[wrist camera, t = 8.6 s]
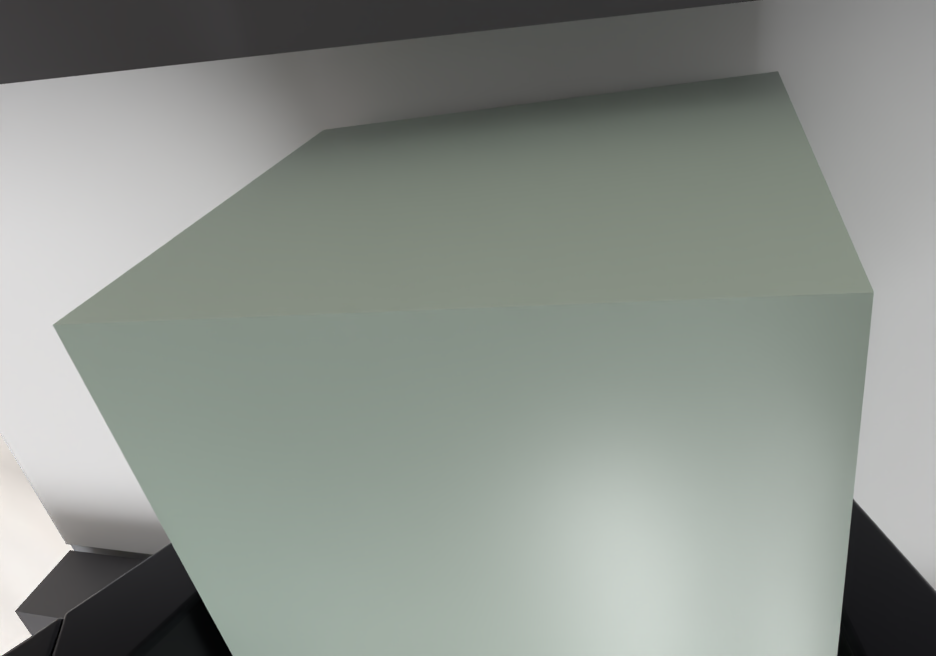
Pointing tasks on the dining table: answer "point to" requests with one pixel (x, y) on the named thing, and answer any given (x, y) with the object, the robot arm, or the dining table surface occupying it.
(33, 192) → the rail board
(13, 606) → the dining table surface
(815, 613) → the block
